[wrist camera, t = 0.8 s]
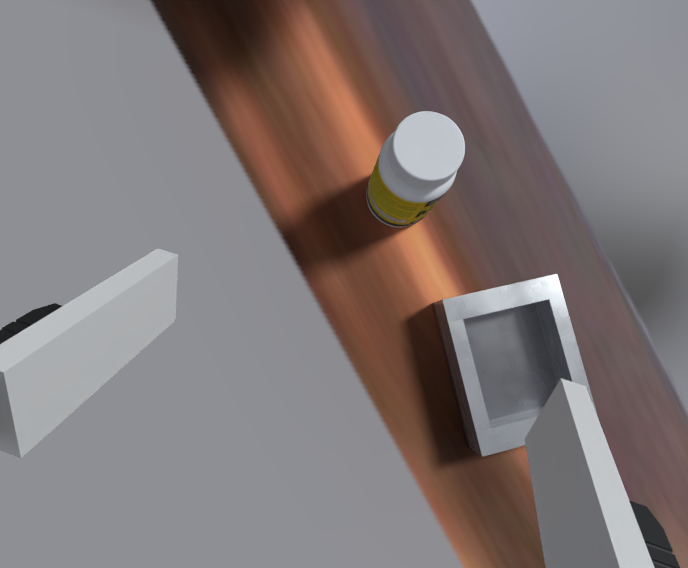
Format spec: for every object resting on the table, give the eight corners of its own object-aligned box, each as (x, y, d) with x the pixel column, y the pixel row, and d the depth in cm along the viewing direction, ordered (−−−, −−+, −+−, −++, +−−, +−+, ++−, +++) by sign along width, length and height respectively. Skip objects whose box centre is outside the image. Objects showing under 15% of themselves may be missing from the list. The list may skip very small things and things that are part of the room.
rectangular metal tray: (432, 303, 31) (442, 299, 29) (538, 279, 32) (557, 274, 29) (468, 447, 30) (482, 456, 28) (576, 418, 31) (600, 425, 28)
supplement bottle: (412, 240, 32) (448, 204, 23) (353, 209, 32) (369, 162, 23) (441, 183, 32) (486, 129, 24) (384, 153, 32) (409, 88, 24)
